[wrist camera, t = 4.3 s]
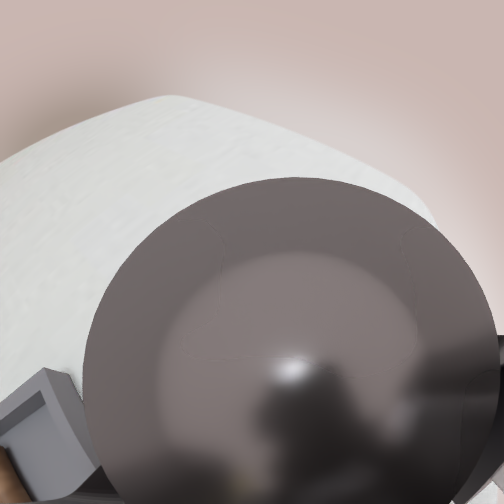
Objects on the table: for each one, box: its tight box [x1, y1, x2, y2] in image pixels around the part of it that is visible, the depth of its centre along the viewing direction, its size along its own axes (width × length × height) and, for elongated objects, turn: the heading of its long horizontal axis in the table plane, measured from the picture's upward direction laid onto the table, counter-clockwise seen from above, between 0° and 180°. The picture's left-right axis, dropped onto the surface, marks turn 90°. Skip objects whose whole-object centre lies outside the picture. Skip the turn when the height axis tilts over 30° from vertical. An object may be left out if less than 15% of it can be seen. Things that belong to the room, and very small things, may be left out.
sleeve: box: [83, 177, 500, 504], centre depth 8 cm, size 5×5×13 cm
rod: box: [0, 445, 32, 504], centre depth 7 cm, size 7×3×3 cm, turn 39°
